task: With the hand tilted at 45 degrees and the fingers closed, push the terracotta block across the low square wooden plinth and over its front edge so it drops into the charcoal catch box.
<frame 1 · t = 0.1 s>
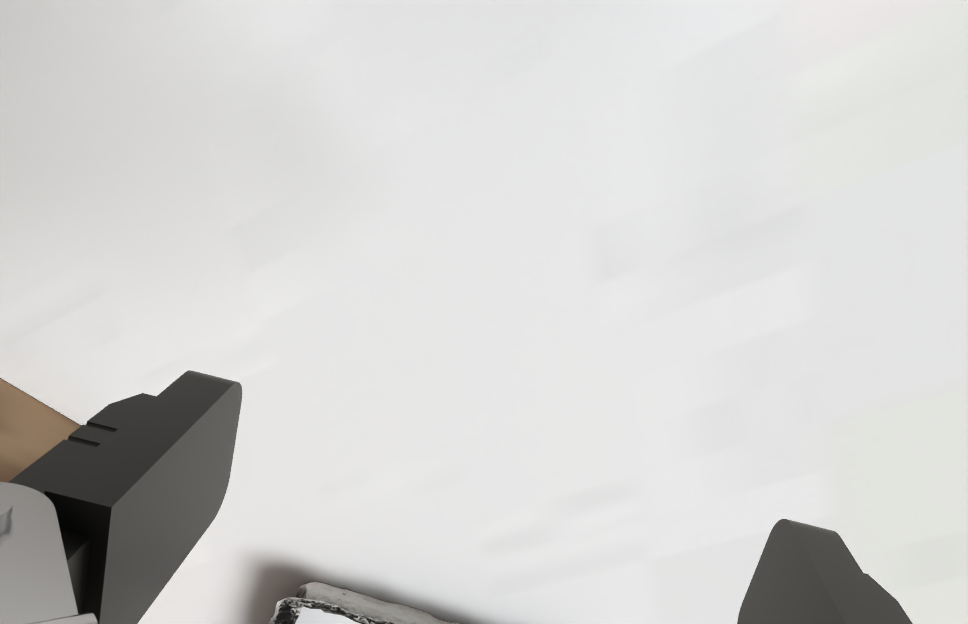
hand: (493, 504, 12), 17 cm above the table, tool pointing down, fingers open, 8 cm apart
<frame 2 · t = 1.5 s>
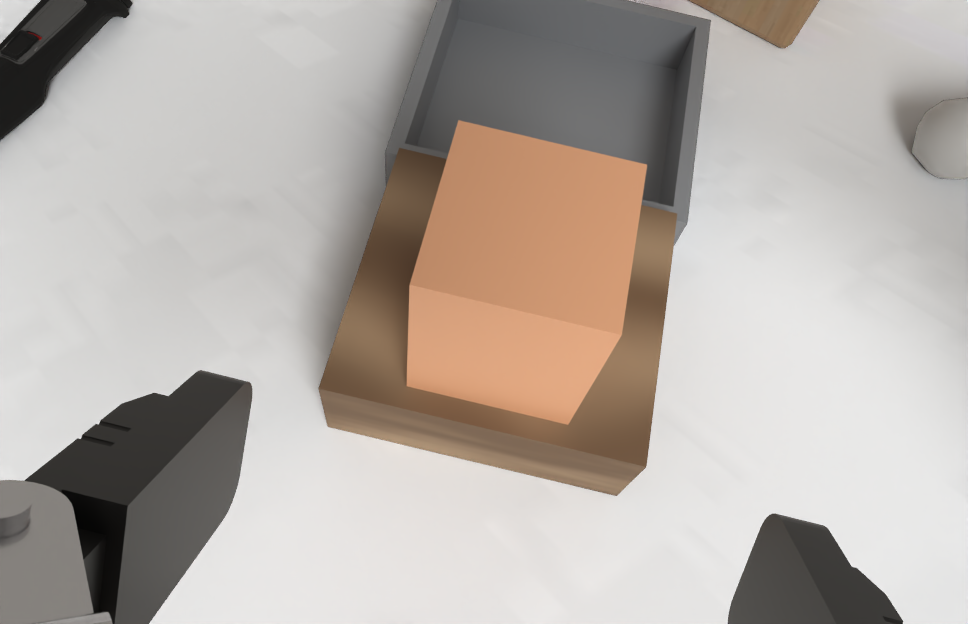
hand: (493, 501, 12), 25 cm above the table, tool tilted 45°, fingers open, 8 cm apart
catch box: (547, 128, 47), on the table
terracotta block: (503, 332, 35), point 5 cm above the table, touching square wooden plinth
square wooden plinth: (499, 339, 41), on the table
electric trimmer: (39, 86, 46), on the table
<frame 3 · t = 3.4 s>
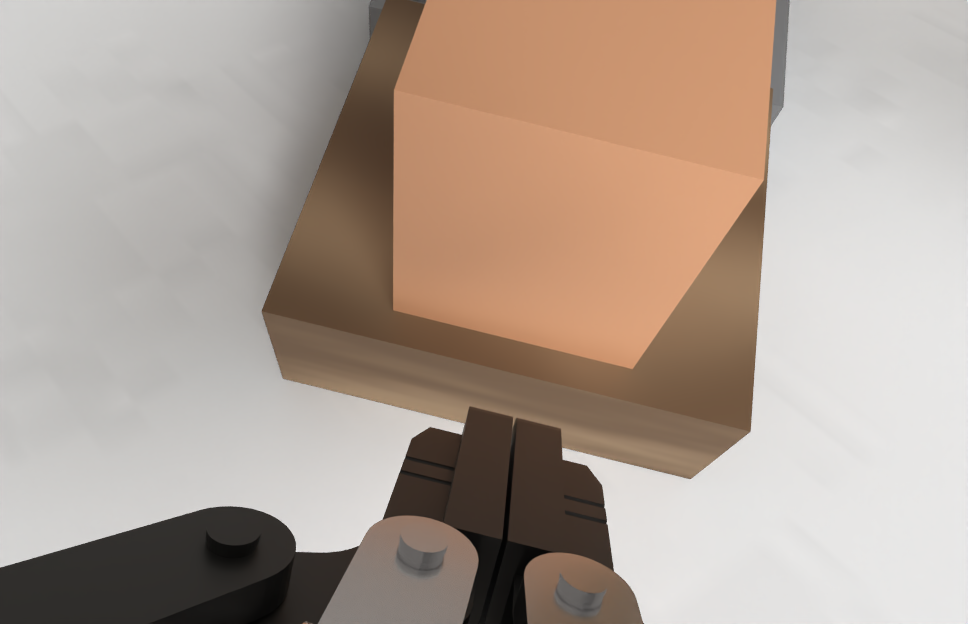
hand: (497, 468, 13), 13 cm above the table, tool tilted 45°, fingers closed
catch box: (583, 6, 36), on the table
terracotta block: (535, 238, 24), point 5 cm above the table, touching square wooden plinth
square wooden plinth: (523, 266, 30), on the table
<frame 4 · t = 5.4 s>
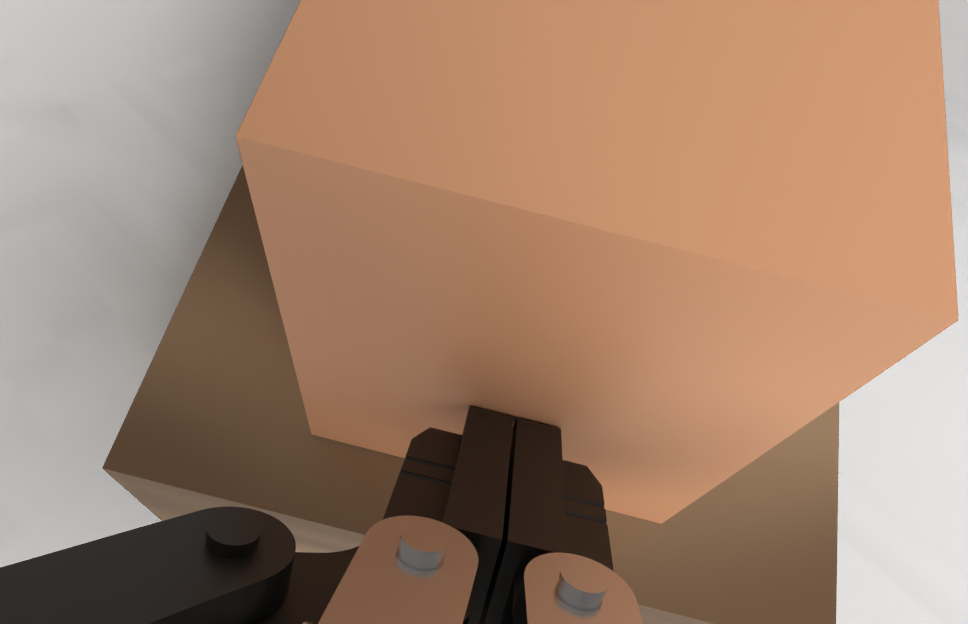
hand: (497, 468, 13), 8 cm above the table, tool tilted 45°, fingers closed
terracotta block: (522, 322, 17), point 5 cm above the table, touching gripper
square wooden plinth: (504, 357, 22), on the table
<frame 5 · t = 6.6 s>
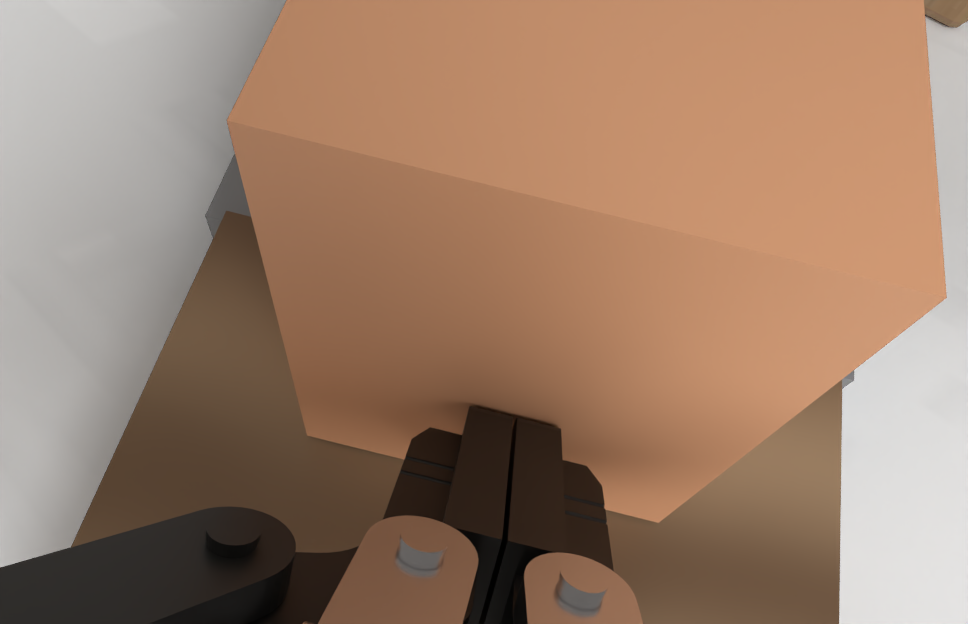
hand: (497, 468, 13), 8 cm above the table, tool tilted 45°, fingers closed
catch box: (553, 162, 26), on the table
terracotta block: (517, 323, 17), point 5 cm above the table, touching square wooden plinth
square wooden plinth: (446, 618, 19), on the table
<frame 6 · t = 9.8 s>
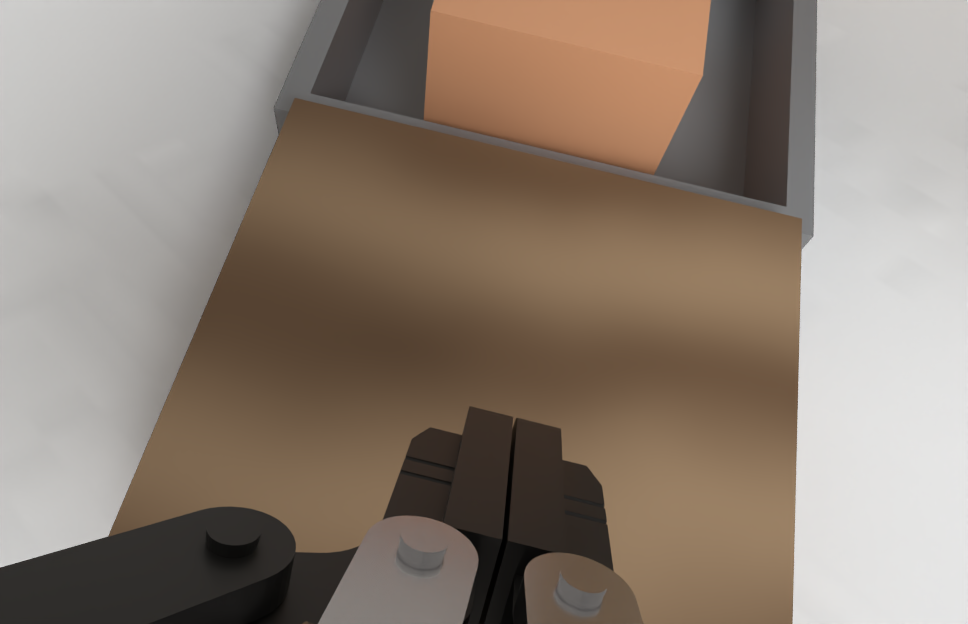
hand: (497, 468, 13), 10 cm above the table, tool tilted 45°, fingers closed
catch box: (558, 82, 29), on the table
terracotta block: (542, 133, 23), point 4 cm above the table, tilted 90°, touching catch box
square wooden plinth: (479, 442, 23), on the table
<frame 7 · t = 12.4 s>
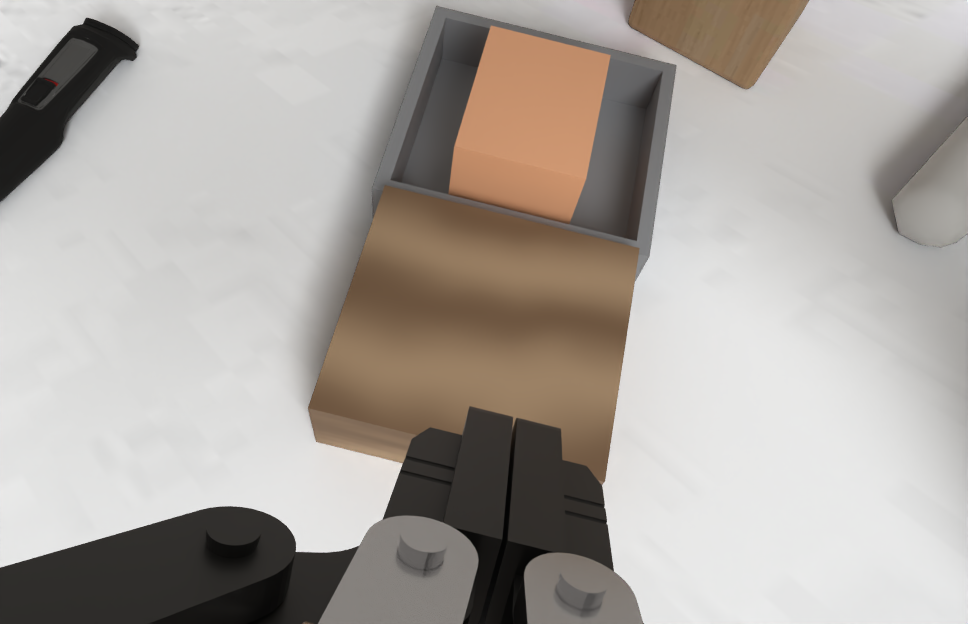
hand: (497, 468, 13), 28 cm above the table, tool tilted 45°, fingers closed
catch box: (524, 164, 51), on the table
terracotta block: (510, 201, 44), point 4 cm above the table, tilted 90°, touching catch box
wooden block: (713, 22, 59), on the table
square wooden plinth: (476, 361, 44), on the table
electric trimmer: (55, 128, 48), on the table
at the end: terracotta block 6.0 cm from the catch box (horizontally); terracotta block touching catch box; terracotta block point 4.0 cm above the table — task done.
